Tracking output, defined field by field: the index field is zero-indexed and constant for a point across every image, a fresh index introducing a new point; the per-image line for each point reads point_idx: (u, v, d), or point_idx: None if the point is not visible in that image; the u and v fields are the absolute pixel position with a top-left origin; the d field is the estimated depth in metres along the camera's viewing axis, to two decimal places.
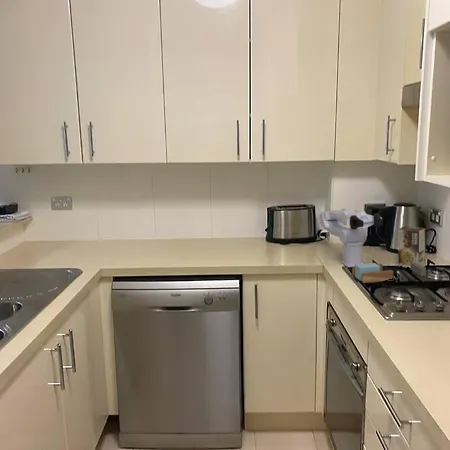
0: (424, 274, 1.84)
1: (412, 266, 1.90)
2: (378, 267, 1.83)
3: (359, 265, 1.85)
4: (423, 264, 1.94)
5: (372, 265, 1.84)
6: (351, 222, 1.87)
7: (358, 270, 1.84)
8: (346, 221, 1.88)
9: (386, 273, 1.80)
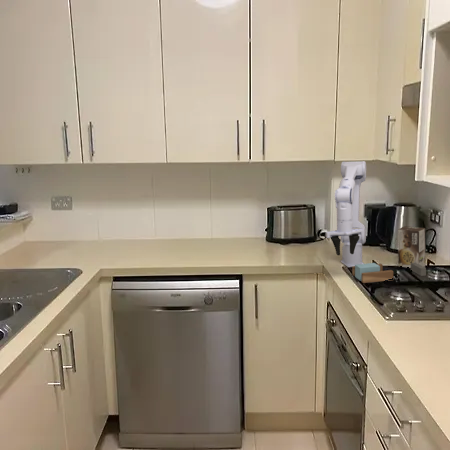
0: (424, 274, 1.84)
1: (412, 266, 1.90)
2: (378, 267, 1.83)
3: (359, 265, 1.85)
4: (423, 264, 1.94)
5: (372, 265, 1.84)
6: (333, 238, 1.81)
7: (358, 270, 1.84)
8: (326, 236, 1.80)
9: (386, 273, 1.80)
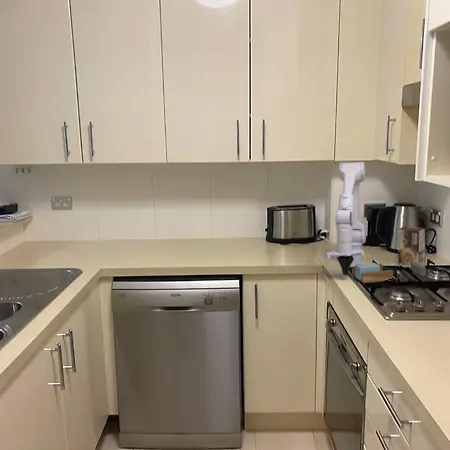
0: (424, 274, 1.84)
1: (412, 266, 1.90)
2: (378, 267, 1.83)
3: (359, 265, 1.85)
4: (423, 264, 1.94)
5: (372, 265, 1.84)
6: None
7: (358, 270, 1.84)
8: (327, 256, 1.81)
9: (386, 273, 1.80)
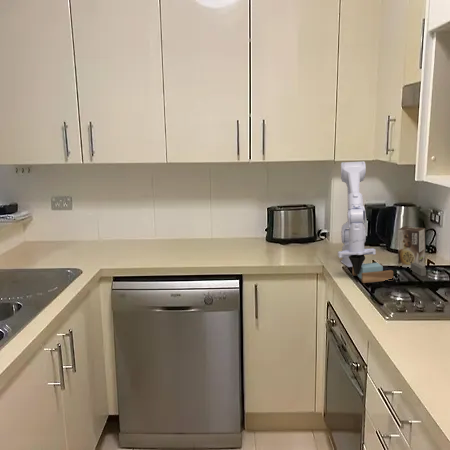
0: (424, 274, 1.84)
1: (412, 266, 1.90)
2: (381, 267, 1.83)
3: (362, 265, 1.85)
4: (423, 264, 1.94)
5: (374, 265, 1.85)
6: None
7: (360, 270, 1.84)
8: (338, 255, 1.82)
9: (386, 273, 1.80)
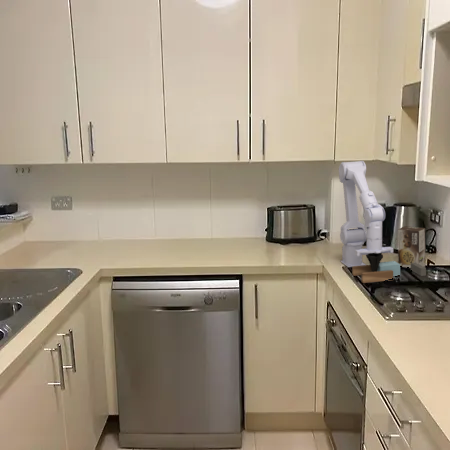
0: (424, 274, 1.84)
1: (412, 266, 1.90)
2: (398, 265, 1.83)
3: (379, 263, 1.86)
4: (423, 264, 1.94)
5: (392, 263, 1.85)
6: None
7: (378, 268, 1.85)
8: (356, 254, 1.83)
9: (386, 273, 1.80)
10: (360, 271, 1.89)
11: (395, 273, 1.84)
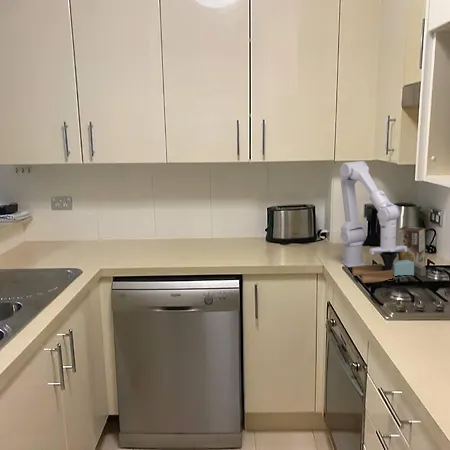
0: (424, 274, 1.84)
1: None
2: (412, 264, 1.84)
3: (393, 262, 1.87)
4: (423, 264, 1.94)
5: (406, 262, 1.86)
6: (382, 254, 1.84)
7: (392, 266, 1.85)
8: (370, 252, 1.83)
9: (386, 273, 1.80)
10: (360, 271, 1.89)
11: (409, 271, 1.85)
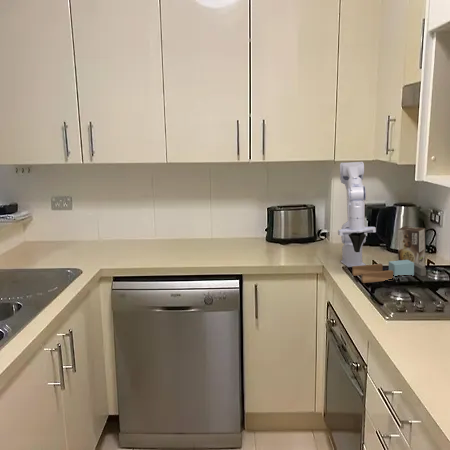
0: (424, 274, 1.84)
1: None
2: (412, 264, 1.84)
3: (393, 262, 1.87)
4: (423, 264, 1.94)
5: (406, 262, 1.86)
6: (351, 236, 1.83)
7: (392, 266, 1.85)
8: (339, 233, 1.82)
9: (386, 273, 1.80)
10: (360, 271, 1.89)
11: (409, 271, 1.85)
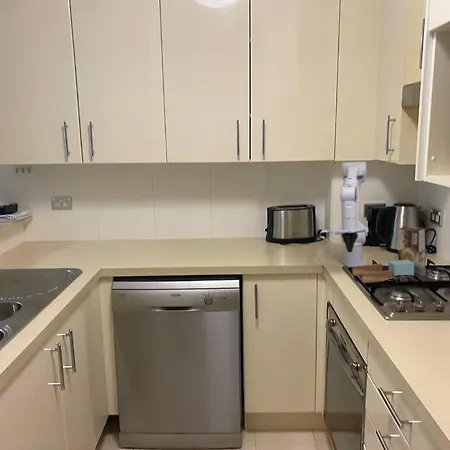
0: (424, 274, 1.84)
1: None
2: (412, 264, 1.84)
3: (393, 262, 1.87)
4: (423, 264, 1.94)
5: (406, 262, 1.86)
6: (343, 236, 1.84)
7: (392, 266, 1.85)
8: (331, 233, 1.83)
9: (386, 273, 1.80)
10: (360, 271, 1.89)
11: (409, 271, 1.85)
